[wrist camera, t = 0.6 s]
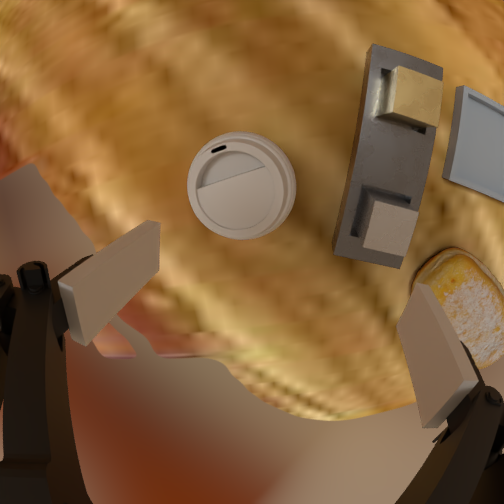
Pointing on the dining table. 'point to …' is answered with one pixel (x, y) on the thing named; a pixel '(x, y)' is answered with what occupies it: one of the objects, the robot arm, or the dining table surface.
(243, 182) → the coffee cup
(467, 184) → the parts tray
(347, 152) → the dining table surface
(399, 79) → the tan rectangular block
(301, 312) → the dining table surface
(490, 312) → the bread
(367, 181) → the grey slotted holder
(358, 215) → the grey rectangular block
